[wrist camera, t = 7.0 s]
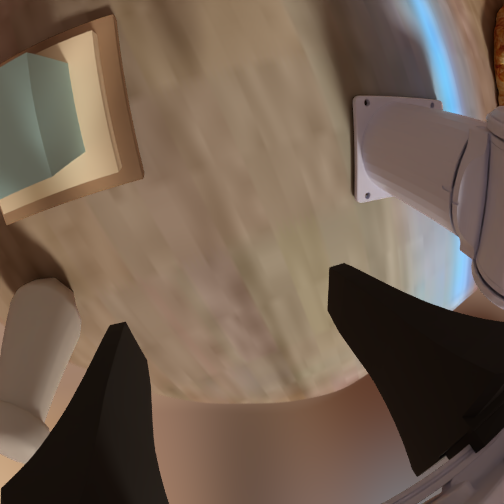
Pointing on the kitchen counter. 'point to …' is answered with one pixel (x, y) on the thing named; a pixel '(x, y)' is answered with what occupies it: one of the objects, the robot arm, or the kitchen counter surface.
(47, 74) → the teal block
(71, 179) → the wooden base
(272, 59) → the kitchen counter surface
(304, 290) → the kitchen counter surface
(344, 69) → the kitchen counter surface
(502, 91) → the croissant
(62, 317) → the salt shaker
